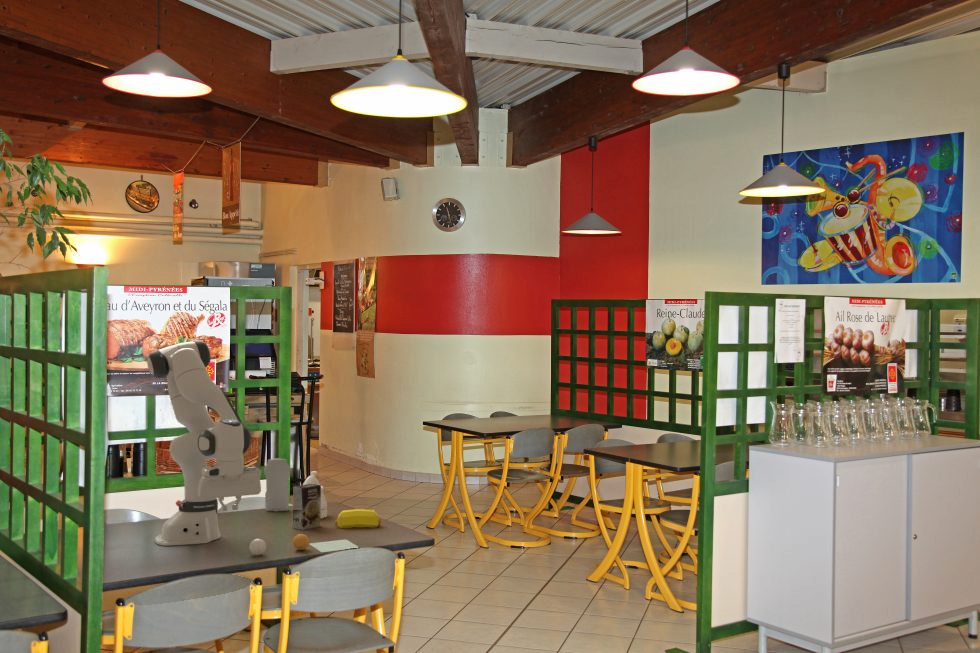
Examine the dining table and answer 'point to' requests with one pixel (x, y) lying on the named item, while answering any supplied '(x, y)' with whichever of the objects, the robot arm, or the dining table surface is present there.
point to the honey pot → (313, 480)
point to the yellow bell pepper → (358, 518)
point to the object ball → (300, 542)
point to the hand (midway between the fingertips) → (229, 509)
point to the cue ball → (257, 547)
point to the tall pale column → (277, 485)
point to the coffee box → (306, 506)
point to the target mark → (333, 545)
